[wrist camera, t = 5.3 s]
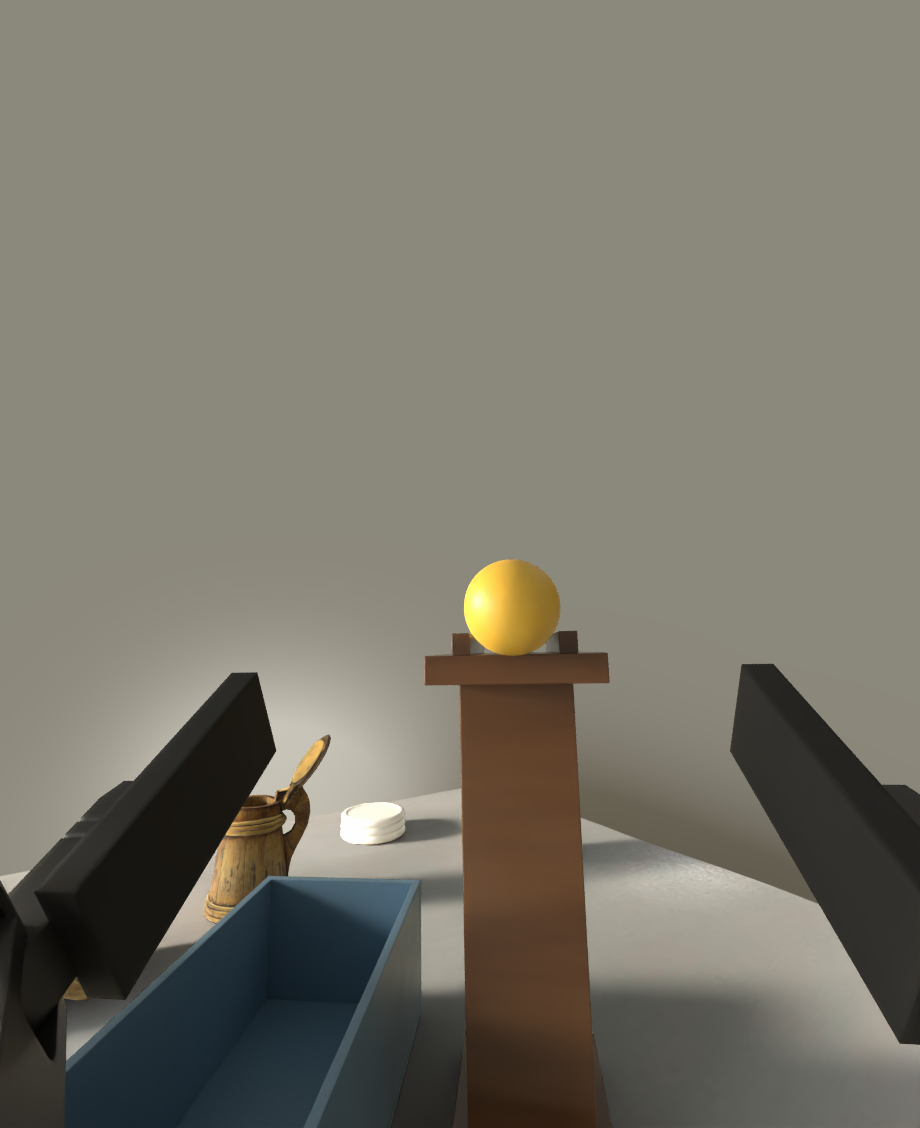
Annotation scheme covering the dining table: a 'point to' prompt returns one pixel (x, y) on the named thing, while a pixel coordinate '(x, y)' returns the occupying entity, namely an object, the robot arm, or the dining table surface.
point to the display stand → (523, 888)
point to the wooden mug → (261, 839)
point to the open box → (268, 1017)
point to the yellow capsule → (512, 607)
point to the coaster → (372, 823)
